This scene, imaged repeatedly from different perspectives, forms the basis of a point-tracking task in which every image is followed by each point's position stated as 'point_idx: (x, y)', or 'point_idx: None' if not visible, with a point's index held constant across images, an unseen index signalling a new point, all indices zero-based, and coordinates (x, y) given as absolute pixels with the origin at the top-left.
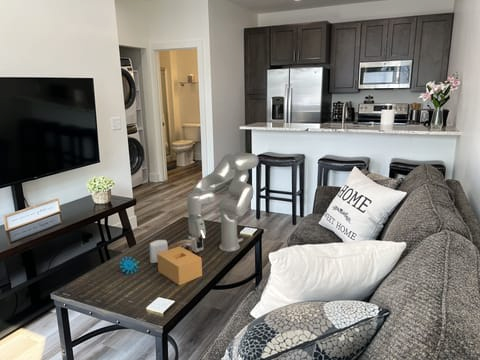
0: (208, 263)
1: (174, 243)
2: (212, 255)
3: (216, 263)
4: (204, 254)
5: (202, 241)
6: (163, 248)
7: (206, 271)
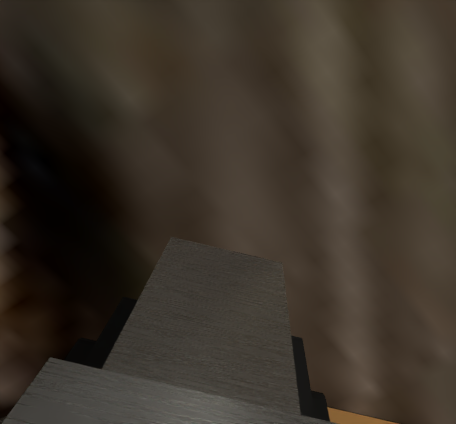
0: (353, 218)
1: None
2: (264, 9)
3: (441, 168)
4: (154, 49)
5: (291, 390)
6: None
7: (436, 360)
